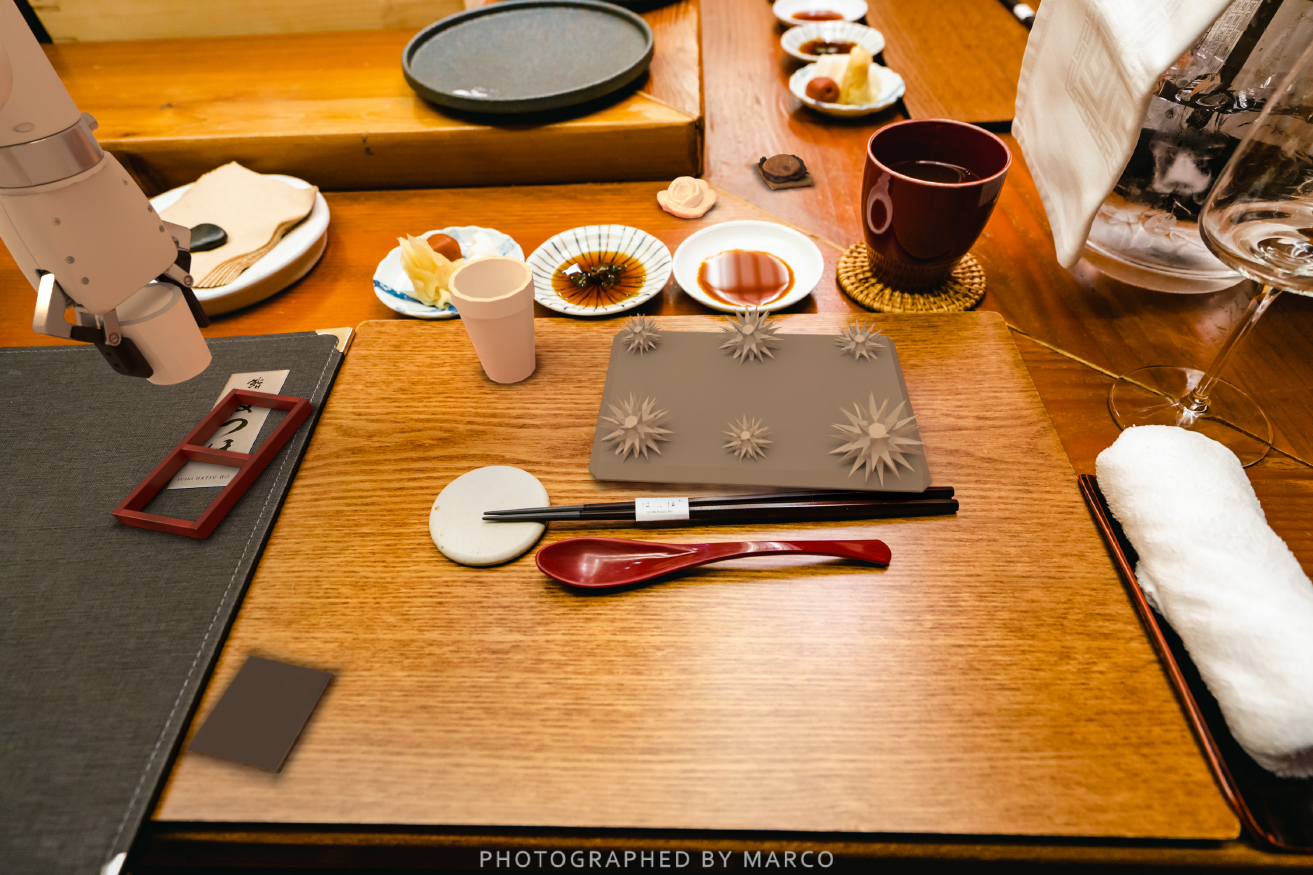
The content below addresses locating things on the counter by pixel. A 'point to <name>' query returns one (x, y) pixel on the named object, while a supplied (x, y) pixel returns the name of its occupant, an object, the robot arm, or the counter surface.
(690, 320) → the counter surface
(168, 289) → the pink candle cup
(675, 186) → the rose
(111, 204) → the robot arm
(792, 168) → the chocolate cookie
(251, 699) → the slate mat
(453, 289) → the foam cup
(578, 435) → the counter surface
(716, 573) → the counter surface
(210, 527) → the frame
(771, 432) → the decorative tray
